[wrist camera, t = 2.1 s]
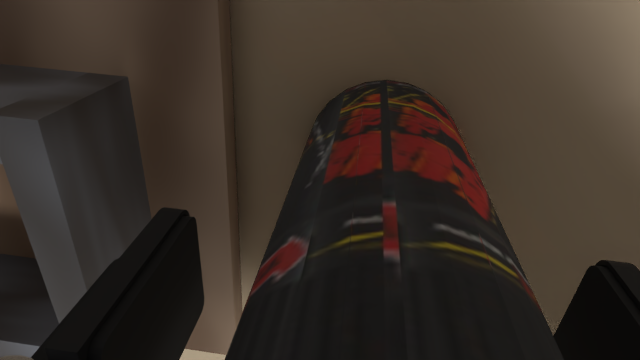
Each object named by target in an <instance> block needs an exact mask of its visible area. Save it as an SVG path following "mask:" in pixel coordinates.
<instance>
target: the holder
mask: <svg viewBox="0 0 640 360" xmlns="http://www.w3.org/2000/svg"><path fill="white" fill-rule="evenodd" d="M163 207H166V208H175V209H183V210H187V211H188V212H189V215H190V216H191V217H195V219H196V222H197V232H198V242H199V251H200V261H201V270H202V280H203V290H204V306H203V310H202V313H201V315H200V317H199V319H198V322H197V324H196V326H195V328H194V330H193V332H192V334H191V336H190V338H189V340H188V342H187V344H186V347H185V349H191V350H198V351H204V352H211V353H217V354H224V355H227V352H228V350H229V347H230V344H231V342H232V339H233V336H234V334H235V331H236V328H237V326H238V323H239V321H240V318H241V315H242V296H241V271H240V247H239V222H238V197H237V173H236V148H235V123H234V99H233V74H232V50H231V25H230V0H0V357H3V356H9V355H22V356H26V357H29V358H31V357H32V355H33V354H34V353H35V352H36V351H37V349H38V348H39V347H40V346H41V345H42V344H43V342H44V341H45V340H46V339H47V338H48V337H49V335H50V334H51V333H52V332H53V331H54V330H55V328H56V327H57V326H58V325H59V324H60V322H61V321H62V320H63V319H64V318H65V317H66V315H67V314H68V313H69V312H70V311H71V310H72V308H73V307H74V306H75V305H76V304H77V302H78V301H79V300H80V299H81V298H82V297H83V295H84V294H85V293H86V292H87V291H88V290H89V288H90V287H91V286H92V285H93V284H94V282H95V281H96V280H97V279H98V278H99V277H100V275H101V274H102V273H103V272H104V271H105V270H106V268H107V267H108V266H109V265H110V264H111V263H112V262H113V261H114V260H115V259H118V258H120V256H121V255H122V254H123V253H124V252H125V250H126V249H127V248H128V247H129V246H130V244H131V243H132V242H133V241H134V240H135V238H136V237H137V236H138V235H139V234H140V232H141V231H142V230H143V229H144V228H145V226H146V225H147V224H148V223H149V222H150V221H151V219H152V218H153V217H154V216H155V215H156V213H157V212H158V211H159V210H160V209H161V208H163Z"/></svg>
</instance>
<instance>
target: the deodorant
mask: <svg viewBox="0 0 640 360" xmlns="http://www.w3.org/2000/svg"><path fill="white" fill-rule="evenodd" d="M225 360H564V358H563V356H562V354H561V352H560V350H559V347H558V345H557V343H556V341H555V339H554V337H553V334H552V332H551V330H550V328H549V326H548V324H547V322H546V319H545V317H544V315H543V313H542V311H541V309H540V306H539V304H538V302H537V300H536V298H535V296H534V293H533V291H532V289H531V287H530V285H529V283H528V281H527V278H526V276H525V274H524V272H523V270H522V268H521V265H520V263H519V261H518V259H517V257H516V255H515V252H514V250H513V248H512V246H511V244H510V242H509V240H508V237H507V235H506V233H505V231H504V229H503V227H502V224H501V222H500V220H499V218H498V216H497V214H496V212H495V209H494V207H493V205H492V203H491V201H490V199H489V196H488V194H487V192H486V190H485V188H484V186H483V183H482V181H481V179H480V177H479V175H478V173H477V171H476V168H475V166H474V164H473V162H472V160H471V158H470V155H469V153H468V151H467V149H466V147H465V145H464V142H463V140H462V138H461V136H460V134H459V132H458V130H457V127H456V125H455V123H454V121H453V119H452V118H451V116H450V115H449V113H448V112H447V110H446V109H445V107H444V106H443V104H441V103H440V102H439V101H438V100H436V99H435V98H434V97H433V96H432V95H430V94H429V93H428V92H426V91H424V90H422V89H420V88H417V87H415V86H413V85H410V84H408V83H402V82H396V81H389V80H383V81H374V82H365V83H363V84H360V85H357V86H355V87H352V88H350V89H347V90H345V91H344V92H342V93H341V94H339V95H338V96H337V97H335V98H334V99H333V100H331V101H330V102H329V103H328V104H327V105H326V107H325V108H324V109H323V110H322V112H321V113H320V114H319V115H318V117H317V119H316V121H315V124H314V126H313V128H312V131H311V133H310V136H309V138H308V141H307V144H306V146H305V149H304V152H303V154H302V157H301V159H300V162H299V165H298V167H297V170H296V173H295V175H294V178H293V181H292V183H291V186H290V189H289V191H288V194H287V196H286V199H285V202H284V204H283V207H282V210H281V212H280V215H279V218H278V220H277V223H276V226H275V228H274V231H273V233H272V236H271V239H270V241H269V244H268V247H267V249H266V252H265V255H264V257H263V260H262V262H261V265H260V268H259V270H258V273H257V276H256V278H255V281H254V284H253V286H252V289H251V292H250V294H249V297H248V299H247V302H246V305H245V307H244V310H243V313H242V315H241V318H240V321H239V323H238V326H237V328H236V331H235V334H234V336H233V339H232V342H231V344H230V347H229V350H228V352H227V355H226V358H225Z"/></svg>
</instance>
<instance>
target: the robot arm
mask: <svg viewBox="0 0 640 360" xmlns="http://www.w3.org/2000/svg"><path fill="white" fill-rule="evenodd" d="M203 306H204V290H203V280H202V270H201V261H200V251H199V242H198V232H197V222H196V219H195V217H191V216H190V215H189V212H188V211H187V210H183V209H175V208H166V207H163V208H161V209H160V210H159V211H158V212H157V213H156V215H155V216H154V217H153V218H152V219H151V221H150V222H149V223H148V224H147V225H146V226H145V228H144V229H143V230H142V231H141V232H140V234H139V235H138V236H137V237H136V238H135V240H134V241H133V242H132V243H131V244H130V246H129V247H128V248H127V249H126V250H125V252H124V253H123V254H122V255H121V256H120V258H118V259H115V260H114V261H113V262H112V263H111V264H110V265H109V266H108V267H107V268H106V270H105V271H104V272H103V273H102V274H101V275H100V277H99V278H98V279H97V280H96V281H95V282H94V284H93V285H92V286H91V287H90V288H89V290H88V291H87V292H86V293H85V294H84V295H83V297H82V298H81V299H80V300H79V301H78V302H77V304H76V305H75V306H74V307H73V308H72V310H71V311H70V312H69V313H68V314H67V315H66V317H65V318H64V319H63V320H62V321H61V322H60V324H59V325H58V326H57V327H56V328H55V330H54V331H53V332H52V333H51V334H50V335H49V337H48V338H47V339H46V340H45V341H44V342H43V344H42V345H41V346H40V347H39V348H38V349H37V351H36V352H35V353H34V354H33V355H32V357H31V358H29V357H26V356H22V355H9V356H3V357H0V360H179V359H180V357H181V355H182V353H183V351H184V349H185V347H186V344H187V342H188V340H189V338H190V336H191V334H192V332H193V330H194V328H195V326H196V324H197V322H198V319H199V317H200V315H201V313H202V310H203ZM553 337H554V339H555V341H556V343H557V345H558V347H559V350H560V352H561V354H562V356H563V358H564V360H640V271H639V270H638V269H637V267H635V266H634V265H633V264H630V263H624V262H615V261H607V260H601V261H599V262H598V263H597V264H596V265H595V266H590V267H589V268H588V269H587V271H586V273H585V275H584V277H583V279H582V281H581V283H580V285H579V287H578V289H577V291H576V293H575V295H574V297H573V299H572V301H571V303H570V305H569V307H568V309H567V311H566V313H565V315H564V317H563V319H562V321H561V322H560V324H559V326H558V328H557V330H556V332H555V334H554V336H553Z"/></svg>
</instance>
